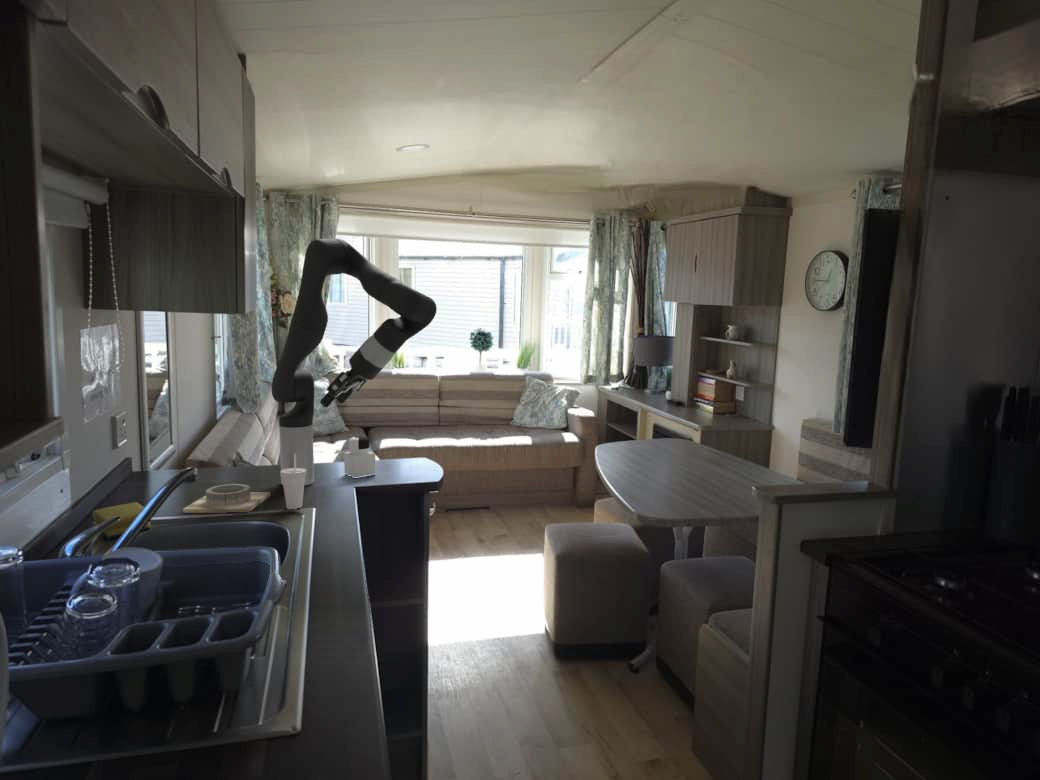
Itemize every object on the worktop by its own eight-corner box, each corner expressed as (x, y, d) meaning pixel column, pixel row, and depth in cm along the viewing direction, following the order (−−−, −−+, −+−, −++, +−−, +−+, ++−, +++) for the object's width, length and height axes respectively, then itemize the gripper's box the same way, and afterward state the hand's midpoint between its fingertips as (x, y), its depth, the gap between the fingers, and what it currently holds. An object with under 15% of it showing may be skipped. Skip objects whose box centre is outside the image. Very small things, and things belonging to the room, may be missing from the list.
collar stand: (211, 495, 182) (210, 481, 182) (270, 495, 182) (270, 481, 182) (183, 512, 166) (182, 497, 166) (247, 512, 167) (247, 497, 166)
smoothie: (299, 511, 168) (297, 457, 166) (276, 510, 169) (274, 455, 168) (312, 504, 174) (310, 451, 173) (289, 503, 175) (288, 450, 174)
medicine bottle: (365, 471, 212) (364, 434, 210) (375, 475, 206) (375, 437, 205) (344, 474, 207) (343, 436, 206) (354, 479, 202) (353, 440, 200)
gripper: (373, 344, 170) (334, 389, 174) (349, 346, 156) (306, 395, 160) (394, 365, 170) (353, 410, 173) (371, 368, 156) (328, 417, 159)
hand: (331, 403), depth 166 cm, fingers open, 8 cm apart
